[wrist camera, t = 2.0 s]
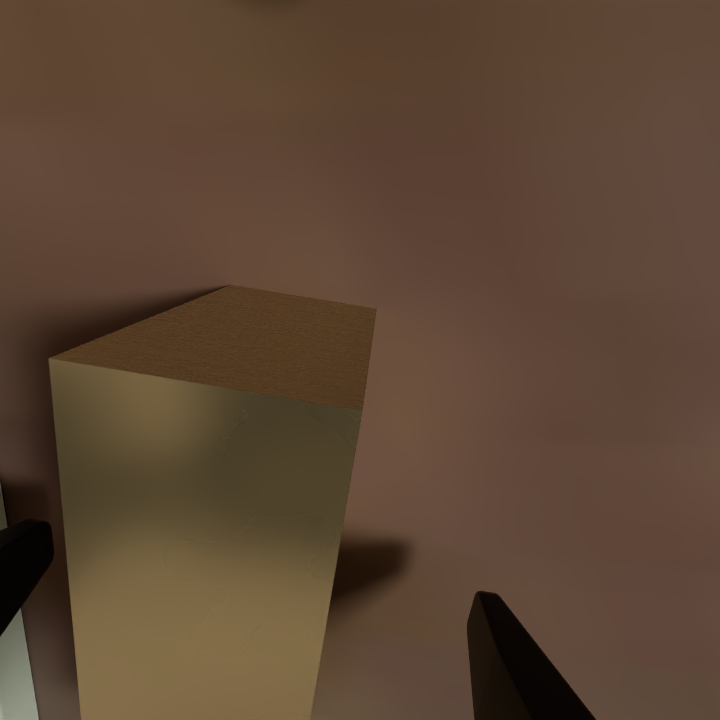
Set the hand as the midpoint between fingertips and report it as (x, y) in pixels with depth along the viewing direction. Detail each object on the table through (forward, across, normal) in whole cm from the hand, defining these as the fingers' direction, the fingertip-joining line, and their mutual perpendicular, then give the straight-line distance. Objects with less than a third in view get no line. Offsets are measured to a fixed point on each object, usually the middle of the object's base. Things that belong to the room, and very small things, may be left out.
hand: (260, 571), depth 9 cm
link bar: (+2, 0, 0) cm, 2 cm away
